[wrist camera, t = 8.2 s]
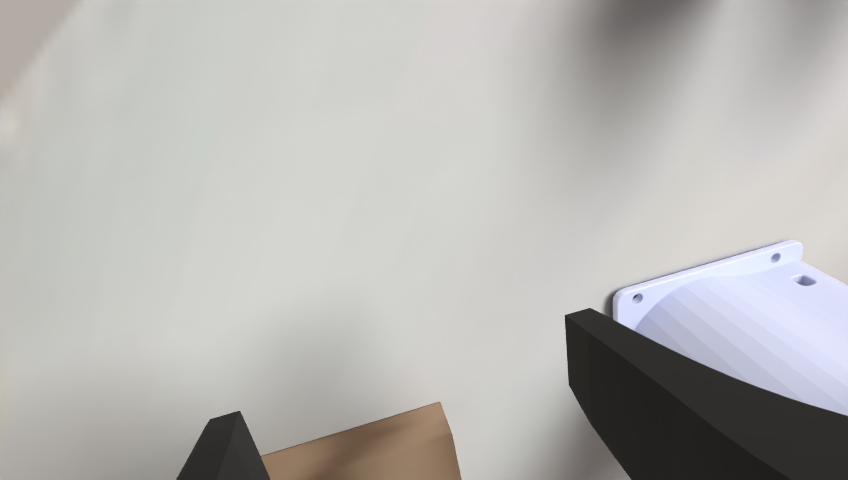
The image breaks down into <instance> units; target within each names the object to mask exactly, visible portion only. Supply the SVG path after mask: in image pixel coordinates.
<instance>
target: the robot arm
mask: <svg viewBox="0 0 848 480" xmlns="http://www.w3.org/2000/svg"><path fill="white" fill-rule="evenodd" d="M802 252H803V245H802V244H801V243H799V242H797V241H795V240H788V241H785V242H781V243H778V244H774V245H771V246H767V247H764V248H760V249H757V250H754V251H750V252H747V253H743V254H740V255H736V256H733V257H730V258H726V259H723V260H719V261H716V262H712V263H709V264H705V265H702V266H699V267H695V268H692V269H688V270H685V271H681V272H678V273H674V274H671V275H668V276H664V277H661V278H657V279H654V280H650V281H647V282H644V283H640V284H637V285H633V286H630V287H626V288H623V289H621V290H619V291H618V292H617V293H616V294H615V295H614V297H613V319H611V318H609V317H607V316H605V315H603V314H601V313H599V312H597V311H595V310H593V309H591V308H588V309H585V310H581V311H578V312H575V313H571V314H568V315H565V327H566V344H567V361H568V378H569V386H570V388H571V389H572V391H573V393H574V395H575V397H576V399H577V401H578V402H579V404H580V406H581V408H582V409H583V411H584V413H585V415H586V416H587V418H588V420H589V422H590V423H591V425H592V426H593V428H594V429H595V430H596V432H597V433H598V435H599V436H600V437H601V439H602V440H603V442H604V443H605V444H606V446H607V447H608V448H609V450H610V451H611V452H612V454H613V455H614V457H615V458H616V459H617V461H618V462H619V463H620V465H621V466H622V467H623V469H624V470H625V471H626V473H627V474H628V475H629V477H630V478H631V480H848V285H846V284H844V283H842V282H840V281H838V280H836V279H834V278H833V277H831V276H829V275H827V274H825V273H823V272H821V271H819V270H817V269H816V268H814V267H812V266H810V265H808V264H806V263H804V262H802V261H801V258H802ZM636 294H637V296H636V297H635V298H634V299H633V297H634V296H635V295H636ZM176 480H270V477H269V475H268V472H267V470H266V468H265V466H264V463H263V461H262V459H261V457H260V454H259V452H258V450H257V448H256V445H255V443H254V441H253V439H252V436H251V434H250V432H249V430H248V428H247V425H246V423H245V421H244V419H243V416H242V414H241V412H240V411H237V412H234V413H230V414H227V415H223V416H220V417H217V418H213V419H210V420H209V422H208V424H207V425H206V427H205V429H204V430H203V432H202V434H201V436H200V438H199V439H198V441H197V443H196V445H195V447H194V449H193V450H192V452H191V454H190V456H189V458H188V459H187V461H186V463H185V465H184V467H183V468H182V470H181V472H180V474H179V476H178V477H177V479H176Z"/></svg>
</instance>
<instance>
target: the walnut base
mask: <svg viewBox="0 0 848 480" xmlns="http://www.w3.org/2000/svg"><path fill="white" fill-rule="evenodd" d="M261 459H262V461H263V463H264V466H265V468H266V470H267V472H268V475H269V477H270V480H461V475H460V470H459V466H458V461H457V456H456V451H455V446H454V441H453V436H452V433H451V430H450V427H449V425H448V422H447V419H446V417H445V414H444V411H443V409H442V406H441V403H440V402H438V403H435V404H432V405H428V406H425V407H422V408H419V409H415V410H412V411H409V412H405V413H402V414H399V415H396V416H392V417H389V418H386V419H383V420H379V421H376V422H373V423H370V424H366V425H363V426H360V427H356V428H353V429H350V430H347V431H343V432H340V433H337V434H334V435H330V436H327V437H324V438H321V439H317V440H314V441H311V442H307V443H304V444H301V445H298V446H294V447H291V448H288V449H285V450H281V451H278V452H275V453H272V454H268V455H265V456H262V457H261Z"/></svg>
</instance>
